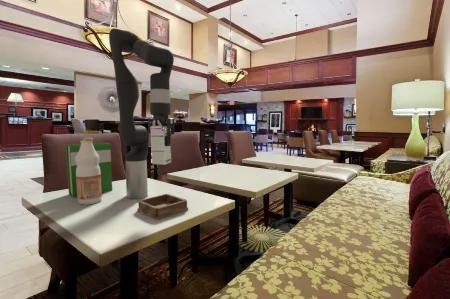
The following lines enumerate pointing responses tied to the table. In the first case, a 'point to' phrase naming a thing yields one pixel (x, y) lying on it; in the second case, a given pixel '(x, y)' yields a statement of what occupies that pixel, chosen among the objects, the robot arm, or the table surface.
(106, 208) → the table surface
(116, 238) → the table surface
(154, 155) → the syrup box
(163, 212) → the socket stand
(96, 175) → the fruit juice
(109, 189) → the hardback book
